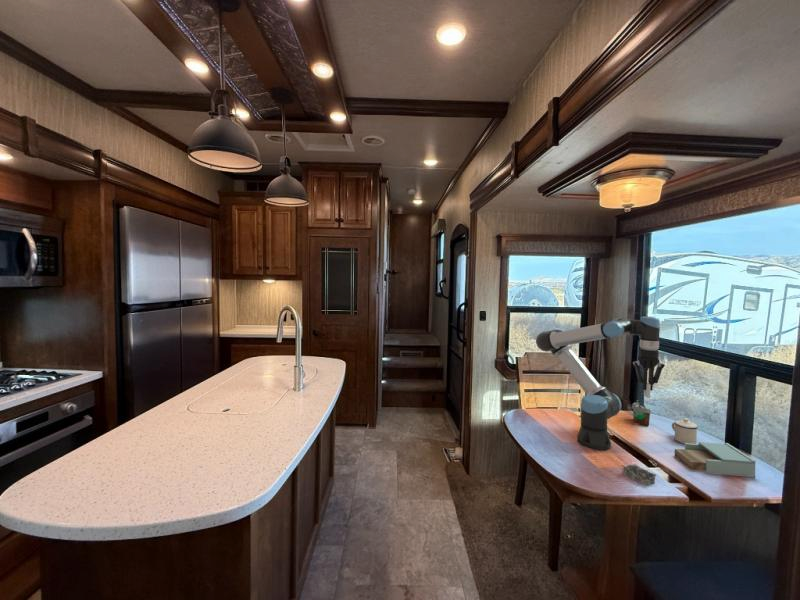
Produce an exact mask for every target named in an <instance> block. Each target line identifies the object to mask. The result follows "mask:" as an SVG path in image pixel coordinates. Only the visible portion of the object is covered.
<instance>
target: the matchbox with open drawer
mask: <svg viewBox="0 0 800 600" xmlns="http://www.w3.org/2000/svg"><path fill="white" fill-rule="evenodd" d="M684 449H686V450H700V451H709V452H710V453H712V454H713V455H714V456H716V457H717V458H718V459H720V460H711V459H706V471H705V472H706V473H707V474H716V475H729V476H738V477H750V478H756V464H757V463H756V459H753V458H751V456H749V455H747V454H746V453H744V452H743V451H741V450H739V449H738V448H736V447H735V446H733V445H731V443H728V442H725V443H715V442H705V441H704V442H702V441H699V442H698V443H696V444H690V443H685V444H684Z"/></svg>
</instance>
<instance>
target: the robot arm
mask: <svg viewBox="0 0 800 600" xmlns="http://www.w3.org/2000/svg"><path fill="white" fill-rule="evenodd" d="M660 322H661V321H660V318H659V317H656V316H641V317H640V319H629V318H614V319H613V320H612V321H608V322H603V323H598V324H594V325H589V326H583V327H578V328H574V329H568V330H562V329H551V330H548V331H542V332H540V333H539V334H537V336H536V337H535V338H536V339H535V343H536V346H537V348H538V349H539V350H540V351H542V352H547V353H548V352H550V353H551V354H552V355H553V356H554V357H558V359H559V360H560V361H561V362H562V364H563V365H564V366H565V368H566V369H567V370H568V372H569V373H570V374H571V375H572V377H573V378H574V380H575V381H576V382H577V384H578V385H579V386H580V387H581V388H580V389H582V390H583V391H584V394H586V395H584V396H583V397H581V401H580V426H579V427H580V428H579V430H578V432H577V434H576V441H577V443H578V444H579V445H580V446H582V447H584V448H587V449H590V450H595V451H608V450H610V449H611V448H612V441H611V438H610V436H609V432H608V420H609V419H611V418H613V417H615V416H616V415H618V414H619V413H620V411H621V409H622V402H621V400H620V398H619V396H618V395H616V394H615V393H613V392H610V391H609V390H608V388H607V387H605V386H602V385H601V384H600V383H599V382H598V380H596V378H595V377H594V376H593V374H592V373H591V372H590V370H589V369H588V368H587V367H586V365H585V364H584V363H583V362H582V361H581V359H580V358H579V357H578V355H577V354H576V353H575V352H574V351H573V347H572V346H573V345H575V344H580V343H581V344H582V343H586V342H593V341H599V340H605V339H611V338H613V339H614V338H618V337H619V338H620V337H621V336H625V335H633V336H639V351H638V353H639V354H638V355H639V356H638V359H637V360H635V361H632V364H633V367H634V369H635V374H636V377H637V380H638V381H639V382H640V383H641V384H642V386H641V389H642V390H643V391H644V393H643V395H644V397H645V398H647V399H650V398H651V392H652V391H653V390H654V389H653V388H654V384H658V383H659V379H660V377H661V375H662V371H663V369H664V368H665V366H666V364H664V363H663V362H660V359H659V353H660V351H659V349H660V332H661V331H660V330H661V324H660ZM640 366H642V367H640ZM655 367H656V369H655ZM641 368H642V372H641Z"/></svg>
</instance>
